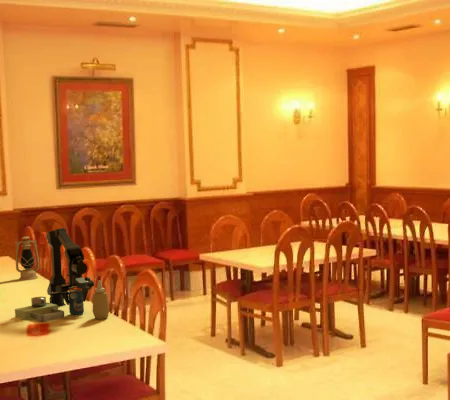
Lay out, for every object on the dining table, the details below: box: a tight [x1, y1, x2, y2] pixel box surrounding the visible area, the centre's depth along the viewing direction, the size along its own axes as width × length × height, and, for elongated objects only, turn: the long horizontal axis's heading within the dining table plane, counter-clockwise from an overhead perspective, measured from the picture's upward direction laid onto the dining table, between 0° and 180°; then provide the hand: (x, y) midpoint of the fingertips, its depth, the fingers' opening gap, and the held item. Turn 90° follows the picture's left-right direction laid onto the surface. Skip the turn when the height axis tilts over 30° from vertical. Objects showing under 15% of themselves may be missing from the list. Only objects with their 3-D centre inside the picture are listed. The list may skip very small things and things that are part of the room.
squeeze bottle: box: [92, 280, 110, 320], centre depth 344 cm, size 8×8×18 cm
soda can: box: [68, 288, 85, 317], centre depth 355 cm, size 7×7×12 cm
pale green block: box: [14, 296, 59, 321], centre depth 358 cm, size 18×10×8 cm, turn 133°
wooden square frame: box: [30, 308, 65, 323], centre depth 350 cm, size 12×11×3 cm
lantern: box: [14, 233, 40, 281], centre depth 465 cm, size 14×12×30 cm
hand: (76, 303), depth 355 cm, fingers open, 9 cm apart
